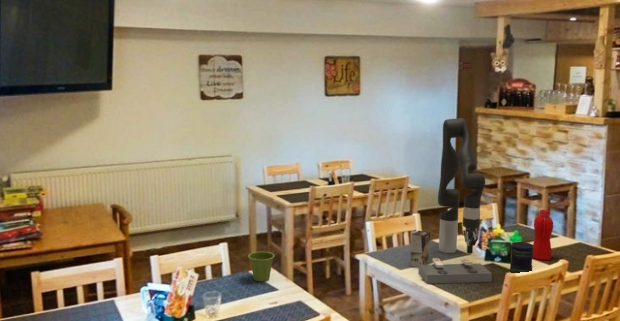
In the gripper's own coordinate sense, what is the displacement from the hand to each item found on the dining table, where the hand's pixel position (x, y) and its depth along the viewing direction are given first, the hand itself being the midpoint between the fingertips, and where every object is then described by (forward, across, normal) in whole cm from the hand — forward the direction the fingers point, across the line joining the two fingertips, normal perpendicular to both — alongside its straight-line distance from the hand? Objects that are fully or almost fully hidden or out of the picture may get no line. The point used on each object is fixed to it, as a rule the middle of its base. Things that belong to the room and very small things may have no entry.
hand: (469, 253), depth 280 cm
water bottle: (+11, -24, +47) cm, 54 cm away
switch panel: (+12, 0, -7) cm, 13 cm away
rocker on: (+5, -3, 0) cm, 6 cm away
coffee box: (+12, -19, -18) cm, 28 cm away
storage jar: (+12, 0, +25) cm, 28 cm away
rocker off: (+6, -3, -14) cm, 15 cm away
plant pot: (+12, -4, -96) cm, 97 cm away
